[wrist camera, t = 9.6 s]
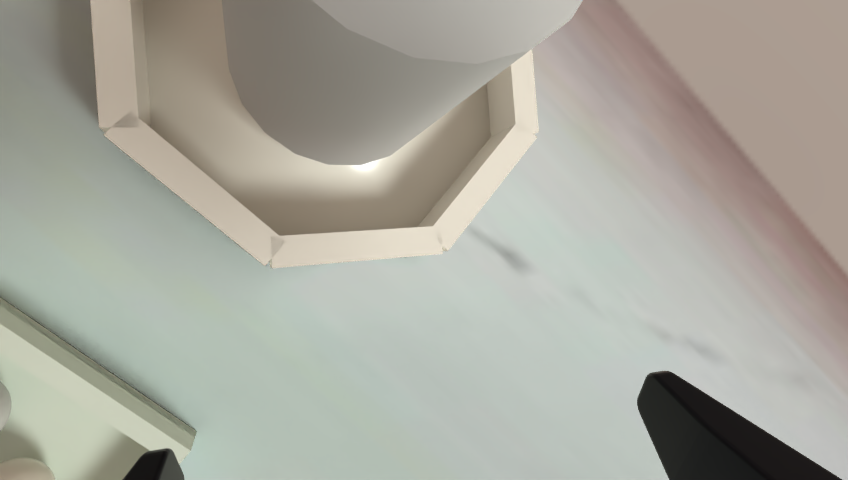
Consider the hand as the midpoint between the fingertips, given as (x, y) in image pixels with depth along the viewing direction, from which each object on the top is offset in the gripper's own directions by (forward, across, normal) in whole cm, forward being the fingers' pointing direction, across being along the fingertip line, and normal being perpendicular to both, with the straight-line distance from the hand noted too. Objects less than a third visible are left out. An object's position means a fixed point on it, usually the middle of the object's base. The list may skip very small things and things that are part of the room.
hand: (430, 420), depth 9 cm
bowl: (+14, +1, -3) cm, 14 cm away
